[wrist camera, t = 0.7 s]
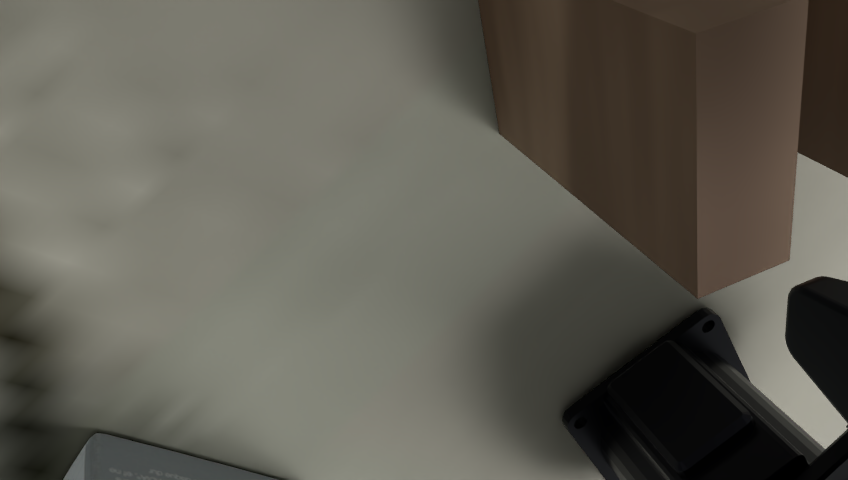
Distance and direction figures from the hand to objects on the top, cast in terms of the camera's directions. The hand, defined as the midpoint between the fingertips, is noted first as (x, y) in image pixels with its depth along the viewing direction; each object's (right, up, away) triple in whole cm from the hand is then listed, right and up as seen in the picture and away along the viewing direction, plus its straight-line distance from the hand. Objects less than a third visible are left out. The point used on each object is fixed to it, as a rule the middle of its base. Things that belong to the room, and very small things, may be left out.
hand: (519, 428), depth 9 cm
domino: (+1, +7, +11) cm, 13 cm away
